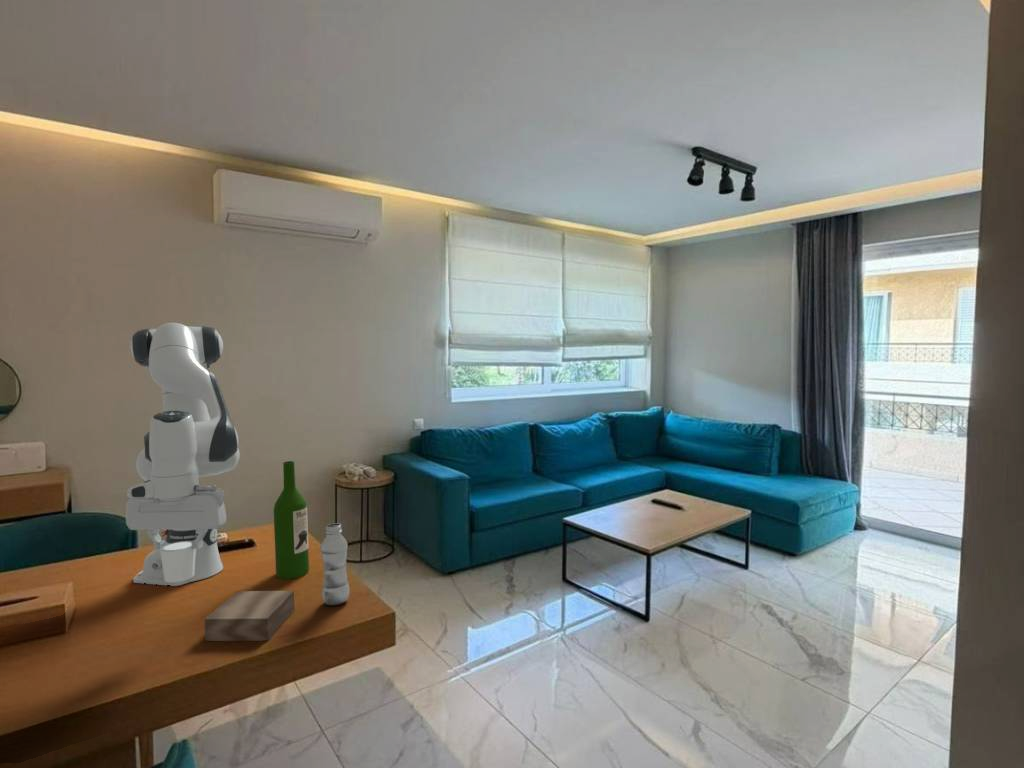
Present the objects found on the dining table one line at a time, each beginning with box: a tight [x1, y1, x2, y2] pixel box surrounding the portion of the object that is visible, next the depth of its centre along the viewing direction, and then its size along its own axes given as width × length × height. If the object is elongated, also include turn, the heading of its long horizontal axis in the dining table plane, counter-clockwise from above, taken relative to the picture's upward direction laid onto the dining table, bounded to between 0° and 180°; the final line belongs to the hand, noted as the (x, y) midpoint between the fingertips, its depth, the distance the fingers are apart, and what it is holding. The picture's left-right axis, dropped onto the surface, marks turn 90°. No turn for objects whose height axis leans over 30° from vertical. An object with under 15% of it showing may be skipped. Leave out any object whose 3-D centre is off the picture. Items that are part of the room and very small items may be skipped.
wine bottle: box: [273, 460, 310, 580], centre depth 155 cm, size 9×9×32 cm
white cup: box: [160, 541, 196, 582], centre depth 118 cm, size 7×7×7 cm
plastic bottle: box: [320, 522, 350, 606], centre depth 136 cm, size 6×7×20 cm
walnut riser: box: [204, 590, 295, 642], centre depth 126 cm, size 14×14×5 cm
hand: (178, 548), depth 118 cm, fingers closed on white cup, 7 cm apart
